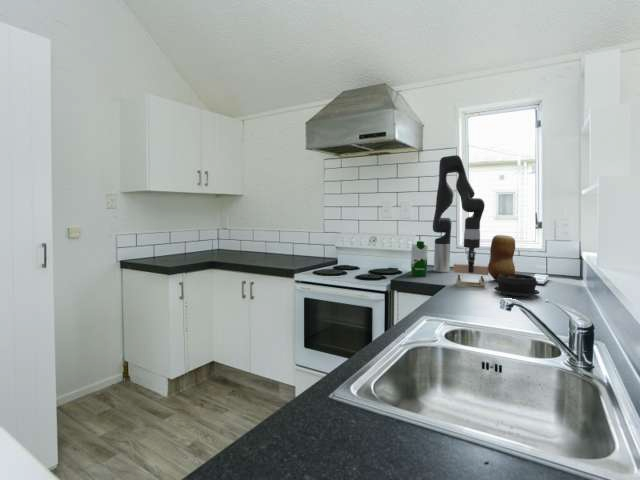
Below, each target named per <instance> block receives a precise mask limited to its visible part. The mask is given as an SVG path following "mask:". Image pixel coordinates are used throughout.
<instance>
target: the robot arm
mask: <svg viewBox="0 0 640 480" xmlns="http://www.w3.org/2000/svg"><path fill="white" fill-rule="evenodd" d="M453 173H457V174H458V177H457V180H456V184H455V186H456V188H455V189H456V191H457V193H458V195H459V196H460V202H461V209H462V210H463V211H464V212H466V213H472V215H471V216H468V217H465V220H464V232H463V234H464V235H463V248H466V249H467V248H468V250H466V259H467V265H469V270H468V272H469V273H473V265H475V261H476V255H477V254H476V253H477V252H476V251H475V249H479V248H480V245H481V244H480V243H481V220H482V216H483V214H484V211H485V201H484V200H483V198H479V197H478V198H477V197H474V196H475V191H474V188H473V187H472V185H471V183H470V181H469V179H468V176H467V172H466V169H465V167H464V163H463V161H462V158H461V157H460V155H456V154H455V155H448V156H443V157H441V158H440V160H439V169H438V185H437V192H436V199H435V201H436V202H435V211H434V216H433V220H432V231H433V232H434V233H439V234H440V233H443V234H444V235H442V236H440V237H438V238H435V239H434V254H433V255H434V256H433V257H434V258H433V271H434V272H437V273H450V263H451V262H450V261H451V259H450V257H451V235H452V219H451V217H450V218H449V217H442V216H443V214H444V213H445V212H446V211H447V210H448V209H449V208H450V207H451V205H453V201H454V195H455V192H454V189H453V187H452V186H451V184H450V182H449V181H448V174H453Z"/></svg>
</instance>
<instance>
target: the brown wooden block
mask: <svg viewBox="0 0 640 480" xmlns="http://www.w3.org/2000/svg"><path fill="white" fill-rule="evenodd" d="M452 269H453V273H456V274H457V273H459V274H467V275H468V274H471V275H479V276H483V275H484V276H488V275H489V271H488V265H479V264H478V265H477V264H474V265H473V273H469V272H468V270H469V265H468V263H467V264H465V263H464V264H463V263H454V264H453V268H452Z"/></svg>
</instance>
